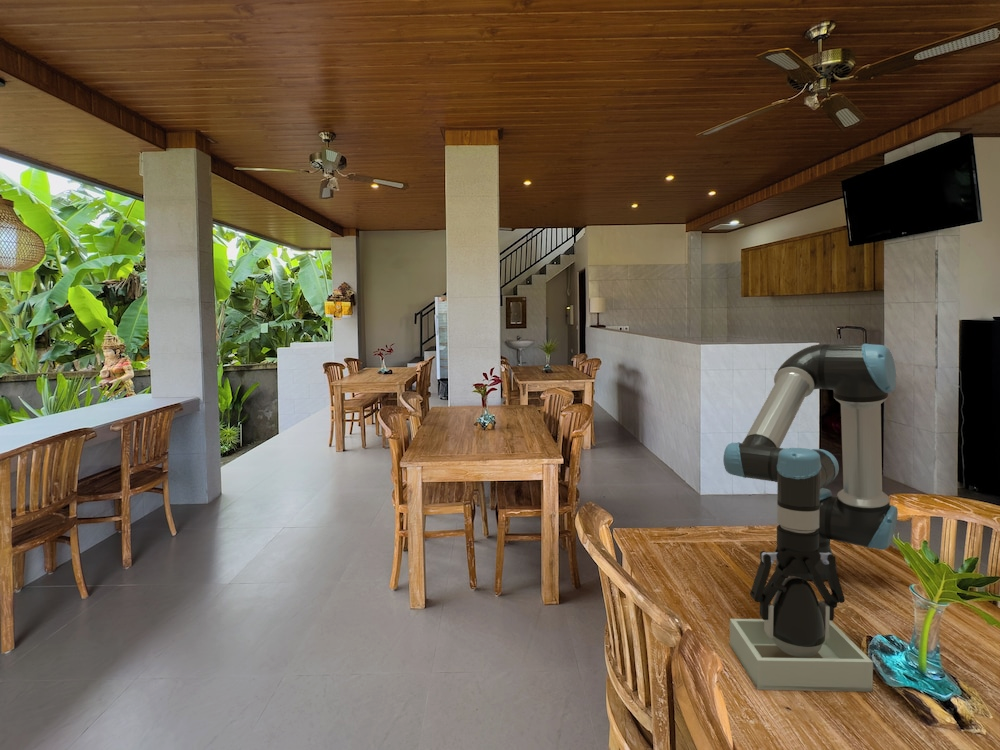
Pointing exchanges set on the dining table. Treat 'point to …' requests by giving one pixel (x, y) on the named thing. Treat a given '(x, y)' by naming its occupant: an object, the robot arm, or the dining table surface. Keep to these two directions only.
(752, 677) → the tray
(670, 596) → the dining table surface
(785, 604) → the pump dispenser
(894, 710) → the dining table surface
